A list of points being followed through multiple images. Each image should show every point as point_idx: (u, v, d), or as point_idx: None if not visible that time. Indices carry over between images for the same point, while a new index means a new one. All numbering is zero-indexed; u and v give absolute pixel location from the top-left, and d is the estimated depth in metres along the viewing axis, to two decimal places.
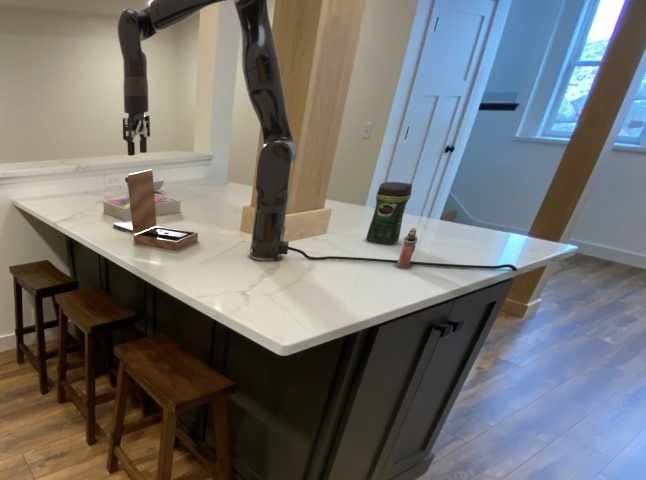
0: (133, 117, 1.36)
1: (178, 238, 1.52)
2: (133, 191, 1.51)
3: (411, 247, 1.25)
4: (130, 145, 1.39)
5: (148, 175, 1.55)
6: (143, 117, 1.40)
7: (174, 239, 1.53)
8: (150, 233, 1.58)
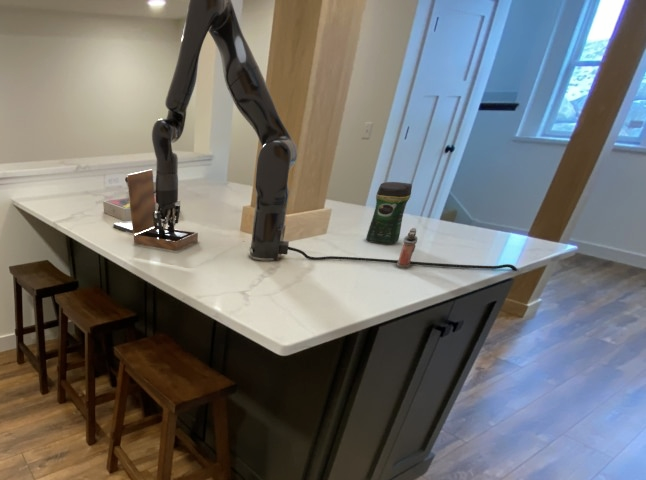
0: (162, 209, 1.49)
1: (178, 238, 1.52)
2: (133, 191, 1.51)
3: (411, 247, 1.25)
4: (161, 233, 1.54)
5: (148, 175, 1.55)
6: (173, 205, 1.53)
7: (174, 239, 1.53)
8: (150, 233, 1.58)
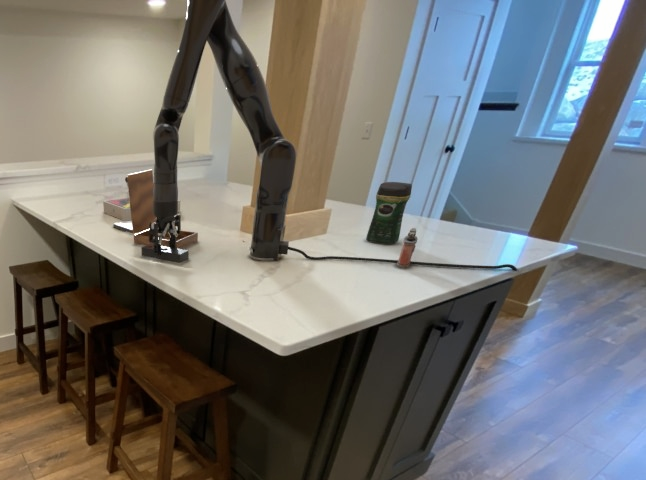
0: (160, 221, 1.34)
1: (177, 255, 1.38)
2: (133, 191, 1.51)
3: (411, 247, 1.25)
4: (156, 247, 1.38)
5: (148, 175, 1.55)
6: (173, 218, 1.39)
7: (173, 256, 1.39)
8: (147, 249, 1.44)
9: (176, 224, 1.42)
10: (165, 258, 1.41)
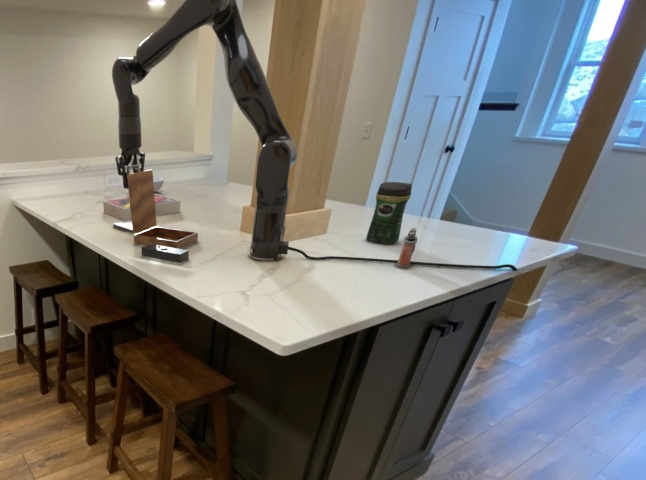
0: (125, 153, 1.48)
1: (177, 255, 1.38)
2: (133, 191, 1.51)
3: (411, 247, 1.25)
4: (125, 179, 1.53)
5: (148, 175, 1.55)
6: (137, 152, 1.52)
7: (173, 256, 1.39)
8: (147, 249, 1.44)
9: (140, 161, 1.56)
10: (165, 258, 1.41)
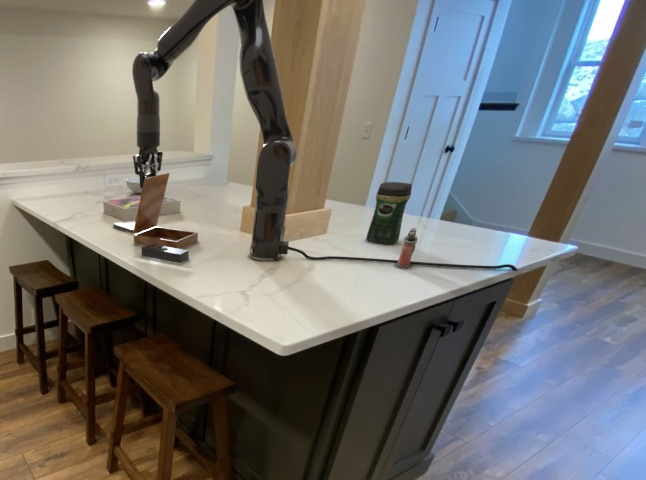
0: (143, 152, 1.44)
1: (177, 255, 1.38)
2: (145, 194, 1.49)
3: (411, 247, 1.25)
4: (142, 179, 1.48)
5: (164, 179, 1.52)
6: (155, 150, 1.48)
7: (173, 256, 1.39)
8: (147, 249, 1.44)
9: (157, 160, 1.51)
10: (165, 258, 1.41)
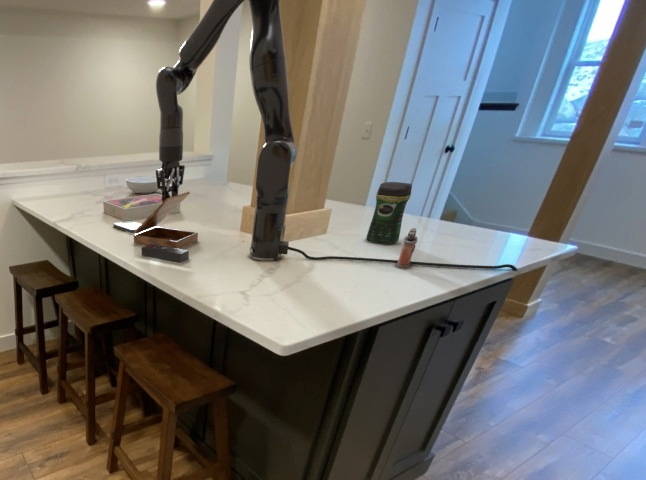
0: (166, 167, 1.41)
1: (177, 255, 1.38)
2: (160, 209, 1.48)
3: (411, 247, 1.25)
4: (164, 193, 1.46)
5: (183, 197, 1.51)
6: (178, 164, 1.45)
7: (173, 256, 1.39)
8: (147, 249, 1.44)
9: (179, 174, 1.49)
10: (165, 258, 1.41)
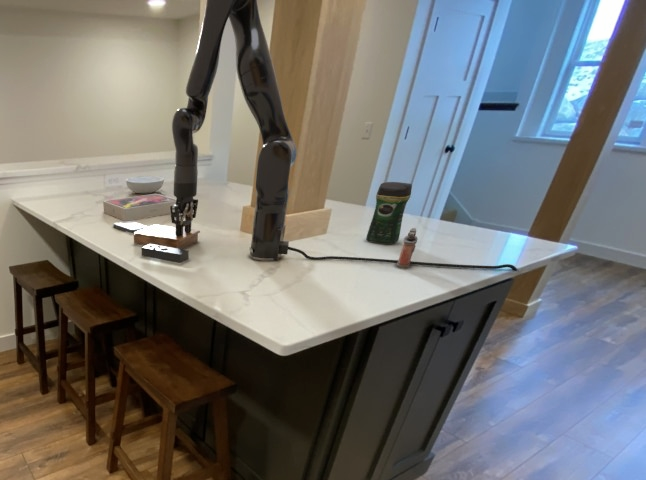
0: (180, 202, 1.43)
1: (177, 255, 1.38)
2: None
3: (411, 247, 1.25)
4: (178, 227, 1.48)
5: None
6: (191, 199, 1.48)
7: (173, 256, 1.39)
8: (147, 249, 1.44)
9: (193, 208, 1.51)
10: (165, 258, 1.41)
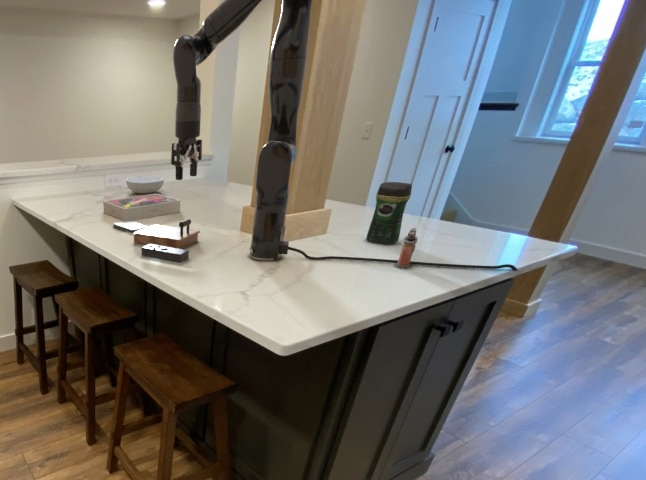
0: (183, 142, 1.34)
1: (177, 255, 1.38)
2: None
3: (411, 247, 1.25)
4: (178, 170, 1.37)
5: None
6: (194, 141, 1.38)
7: (173, 256, 1.39)
8: (147, 249, 1.44)
9: (197, 149, 1.42)
10: (165, 258, 1.41)
